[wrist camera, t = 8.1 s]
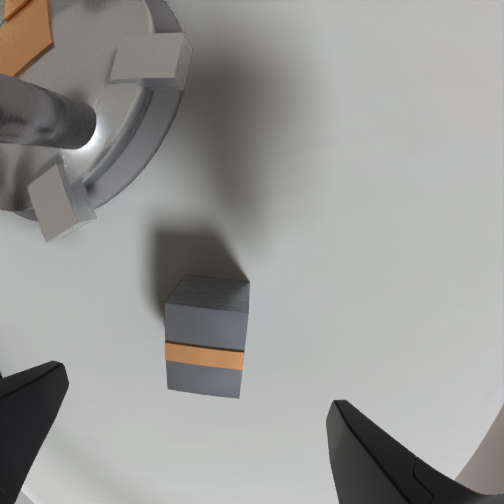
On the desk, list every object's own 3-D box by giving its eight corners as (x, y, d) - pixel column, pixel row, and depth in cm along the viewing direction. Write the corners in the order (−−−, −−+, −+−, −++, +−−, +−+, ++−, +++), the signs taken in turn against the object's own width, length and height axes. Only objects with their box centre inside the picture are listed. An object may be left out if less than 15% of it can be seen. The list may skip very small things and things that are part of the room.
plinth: (171, 227, 13) (164, 230, 12) (-17, 215, 13) (-27, 217, 12) (212, -50, 9) (210, -61, 8) (26, -4, 9) (19, -9, 8)
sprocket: (266, 37, 10) (275, -80, 3) (60, 293, 13) (-34, 361, 6) (85, -49, 8) (35, -104, 1) (-49, 143, 10) (-123, 147, 4)
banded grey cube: (242, 354, 15) (238, 400, 11) (184, 347, 15) (167, 390, 11) (249, 281, 14) (248, 314, 10) (185, 274, 14) (164, 304, 10)
